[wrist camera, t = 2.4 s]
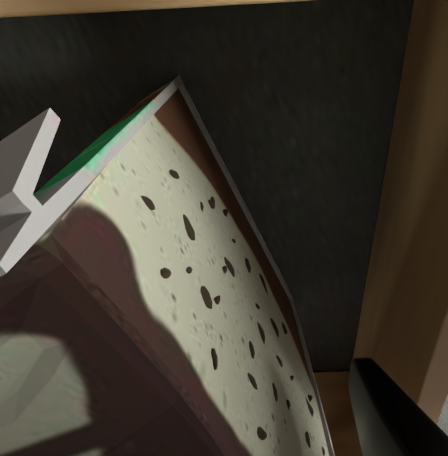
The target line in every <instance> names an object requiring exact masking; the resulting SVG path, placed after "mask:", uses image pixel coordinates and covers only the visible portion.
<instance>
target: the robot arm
mask: <svg viewBox="0 0 448 456" xmlns="http://www.w3.org/2000/svg"><path fill="white" fill-rule="evenodd" d="M348 389H349V394H350V399H351V404H352V408H353V413H354V418H355V422H356V427H357V432H358V437H359V441H360V446H361V450H362V455H363V456H448V436H447V435H446V434H445V433H444V432H443V431H442V430H441V429H440V428H439V427H438V426H437V425H436V424H435V423H434V422H433V420H432V419H431V418H430V417H429V416H428V415H427V414H426V413H425V412H424V411H423V410H422V409H421V408H420V407H419V406H418V405H417V404H416V403H415V402H414V401H413V400H412V399H411V398H410V397H409V396H408V395H407V394H406V393H405V392H404V391H403V390H402V389H401V388H400V387H399V386H398V385H397V384H396V383H395V382H394V381H393V380H392V379H391V378H390V376H389V375H388V374H387V373H386V372H385V371H384V370H383V369H382V368H381V367H380V366H379V365H378V364H377V363H376V362H375V361H374V360H373V359H371V358H368V357H365V358H354V359H353V360H352V362H351V367H350V373H349V379H348Z"/></svg>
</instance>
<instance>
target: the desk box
mask: <svg viewBox="0 0 448 456" xmlns="http://www.w3.org/2000/svg"><path fill="white" fill-rule="evenodd" d="M297 1H315V0H0V18H10V17H28V16H46V15H64V14H82V13H100V12H118V11H136V10H154V9H171V8H189V7H207V6H225V5H243V4H261V3H279V2H297ZM365 357H368V358H371V359H373V360H374V361H375V362H376V363H377V364H378V365H379V366H380V367H381V368H382V369H383V370H384V371H385V372H386V373H387V374H388V375H389V376H390V378H391V379H392V380H393V381H394V382H395V383H396V384H397V385H398V386H399V387H400V388H401V389H402V390H403V391H404V392H405V393H406V394H407V395H408V396H409V397H410V398H411V399H412V400H413V401H414V402H415V403H416V404H417V405H418V406H419V407H420V408H421V409H422V410H423V411H424V412H425V413H426V414H427V415H428V416H429V417H430V418H431V419H432V420H433V422H434V423H435V424H437V422H438V419H439V416H440V413H441V411H442V408H443V405H444V403H445V400H446V397H447V395H448V0H414V5H413V11H412V17H411V23H410V28H409V34H408V40H407V46H406V52H405V58H404V63H403V69H402V75H401V81H400V87H399V93H398V98H397V104H396V110H395V116H394V122H393V128H392V133H391V139H390V145H389V151H388V157H387V163H386V168H385V174H384V180H383V186H382V192H381V198H380V203H379V209H378V215H377V221H376V227H375V233H374V238H373V244H372V250H371V256H370V262H369V268H368V274H367V279H366V285H365V291H364V297H363V303H362V309H361V314H360V320H359V326H358V332H357V338H356V344H355V349H354V355H353V359H354V358H365ZM349 373H350V371H340V372H318V373H314V377H315V380H316V384H317V388H318V392H319V396H320V399H321V403H322V407H323V411H324V415H325V418H326V422H327V426H328V430H329V434H330V437H331V441H332V445H333V449H334V453H335V456H363V455H362V450H361V446H360V441H359V437H358V432H357V427H356V422H355V418H354V413H353V408H352V404H351V399H350V394H349V389H348V379H349Z"/></svg>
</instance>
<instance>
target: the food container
mask: <svg viewBox="0 0 448 456" xmlns="http://www.w3.org/2000/svg"><path fill="white" fill-rule="evenodd" d="M60 120H61V119H60V118H59V117H58V116H57V115H56V114H55V113H54V112H53V110H52V109H51V108H48V109H47V110H45V111H44V112H42V113H41V114H39V115H38V116H36V117H35V118H33V119H32V120H31V121H29V122H28V123H26V124H25V125H23V126H22V127H20V128H19V129H17V130H16V131H14V132H13V133H12V134H10V135H9V136H7V137H6V138H4V139H3V140H1V141H0V456H335V453H334V449H333V445H332V441H331V437H330V434H329V430H328V426H327V422H326V418H325V415H324V411H323V407H322V403H321V399H320V396H319V392H318V388H317V384H316V380H315V377H314V373H313V369H312V365H311V361H310V358H309V354H308V350H307V346H306V342H305V339H304V335H303V331H302V327H301V323H300V320H299V316H298V312H297V308H296V304H295V301H294V298H293V296H292V294H291V292H290V290H289V288H288V286H287V284H286V282H285V280H284V278H283V277H282V275H281V273H280V271H279V269H278V267H277V265H276V263H275V261H274V259H273V257H272V255H271V253H270V251H269V249H268V247H267V245H266V243H265V242H264V240H263V238H262V236H261V234H260V232H259V230H258V228H257V226H256V224H255V222H254V220H253V218H252V216H251V214H250V212H249V210H248V208H247V206H246V205H245V203H244V201H243V199H242V197H241V195H240V193H239V191H238V189H237V187H236V185H235V183H234V181H233V179H232V177H231V175H230V173H229V171H228V170H227V168H226V166H225V164H224V162H223V160H222V158H221V156H220V154H219V152H218V150H217V148H216V146H215V144H214V142H213V140H212V138H211V136H210V135H209V133H208V131H207V129H206V127H205V125H204V123H203V121H202V119H201V117H200V115H199V113H198V111H197V109H196V107H195V105H194V103H193V101H192V99H191V98H190V96H189V94H188V92H187V90H186V88H185V86H184V84H183V82H182V80H181V78H180V76H179V75H178V76H177V77H175V78H174V79H172V80H171V81H169V82H167V83H166V84H164V85H163V86H161V87H160V88H158V89H157V90H155V91H153V92H152V93H150V94H149V95H147V96H146V97H144V98H143V99H142V100H141V101H140V102H139V103H138V104H136V105H135V106H134V107H133V108H132V109H131V110H130V111H128V112H127V113H126V114H125V115H124V116H123V117H122V118H120V119H119V120H118V121H117V122H116V123H115V124H114V125H112V126H111V127H110V128H109V129H108V130H107V131H105V132H104V133H103V134H102V135H101V136H100V137H99V138H97V139H96V140H95V141H94V142H93V143H92V144H91V145H89V146H88V147H87V148H86V149H85V150H84V151H83V152H81V153H80V154H79V155H78V156H77V157H76V158H75V159H73V160H72V161H71V162H70V163H69V164H68V165H66V166H65V167H64V168H63V169H62V170H61V171H60V172H58V173H57V174H56V175H55V176H54V177H53V178H52V179H50V180H49V181H48V182H47V183H46V184H45V185H44V186H42V187H41V188H40V189H39V190H38V191H37V192H36V193H34V194H33V192H34V190H35V187H36V184H37V182H38V179H39V176H40V174H41V171H42V168H43V166H44V163H45V160H46V158H47V155H48V152H49V150H50V147H51V144H52V142H53V139H54V136H55V134H56V131H57V128H58V126H59V123H60Z"/></svg>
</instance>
